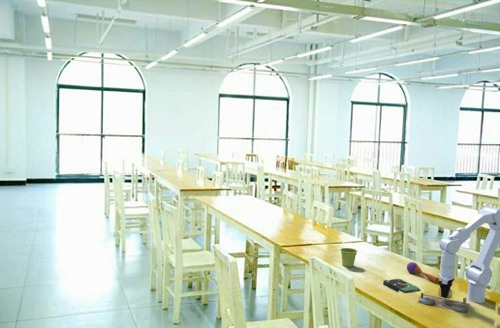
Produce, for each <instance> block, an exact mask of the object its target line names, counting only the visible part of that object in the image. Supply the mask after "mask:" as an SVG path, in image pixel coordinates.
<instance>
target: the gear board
mask: <svg viewBox="0 0 500 328" xmlns="http://www.w3.org/2000/svg"><path fill="white" fill-rule="evenodd" d="M418 297H419V299H418V301H417V304H421V305H424V306H431V307H435V308H439V309H444V310H449V311H453V312H458V313H462V314H469V309H470V303H468V302H467V297H463V298H462V301H459V300H454V299H448V298H443V297H440V296H434V295H429V294H425V293H424V292H421V293H420V296H418Z"/></svg>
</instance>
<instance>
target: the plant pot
mask: <svg viewBox="0 0 500 328" xmlns="http://www.w3.org/2000/svg"><path fill="white" fill-rule="evenodd" d="M340 253H341V254H340V255H341V262H342V263H341V264H342V266H344V267H346V268H351V267H354V266H355V261H356V256H357V253H358V250H357V249H355V248H349V247H342V248H340Z"/></svg>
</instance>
